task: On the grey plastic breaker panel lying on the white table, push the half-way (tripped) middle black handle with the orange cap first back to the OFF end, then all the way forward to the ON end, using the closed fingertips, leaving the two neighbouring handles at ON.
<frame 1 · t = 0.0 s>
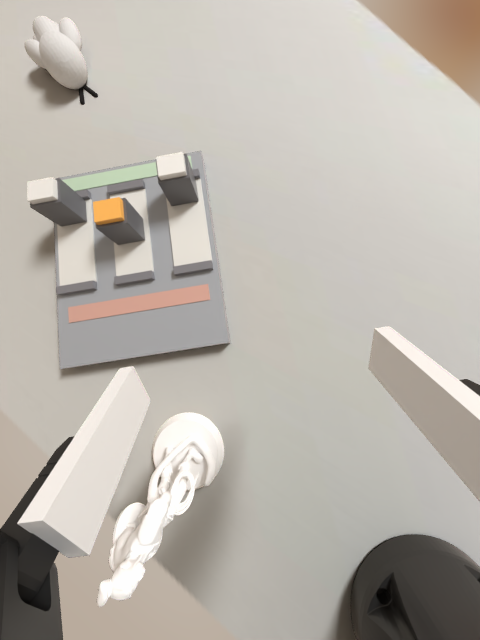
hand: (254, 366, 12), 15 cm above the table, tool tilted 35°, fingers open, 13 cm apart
figurine: (188, 449, 27), on the table
breaker mid: (119, 221, 26), point 4 cm above the table, slide at 4.0 cm
toy: (73, 72, 35), on the table
panel: (140, 260, 30), on the table
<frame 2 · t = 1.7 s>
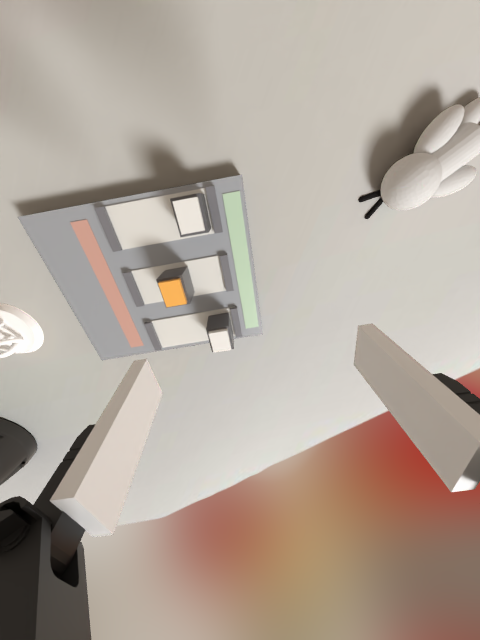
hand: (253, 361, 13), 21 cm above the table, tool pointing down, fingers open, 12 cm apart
figurine: (12, 328, 34), on the table
breaker mid: (176, 287, 27), point 4 cm above the table, slide at 4.0 cm
toy: (416, 168, 27), on the table
panel: (162, 280, 31), on the table
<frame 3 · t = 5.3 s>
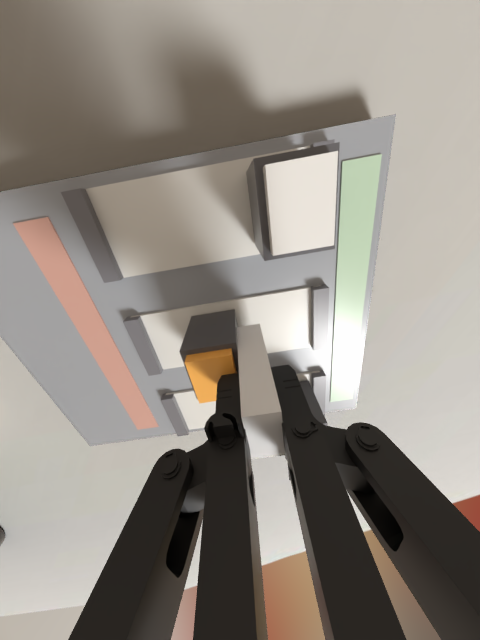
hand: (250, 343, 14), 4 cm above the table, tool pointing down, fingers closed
breaker mid: (216, 354, 14), point 4 cm above the table, slide at 3.1 cm, touching gripper
panel: (193, 325, 18), on the table
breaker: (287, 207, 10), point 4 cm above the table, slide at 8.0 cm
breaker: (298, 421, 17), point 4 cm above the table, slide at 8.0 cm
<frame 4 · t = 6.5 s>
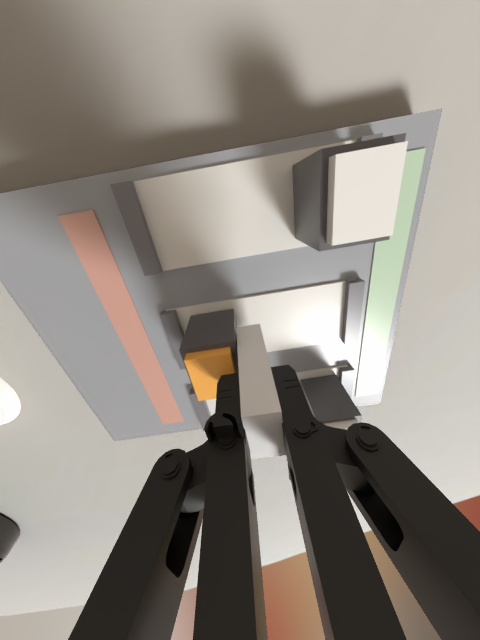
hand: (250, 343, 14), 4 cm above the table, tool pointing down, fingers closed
breaker mid: (215, 353, 14), point 4 cm above the table, slide at 0.6 cm
panel: (223, 319, 18), on the table
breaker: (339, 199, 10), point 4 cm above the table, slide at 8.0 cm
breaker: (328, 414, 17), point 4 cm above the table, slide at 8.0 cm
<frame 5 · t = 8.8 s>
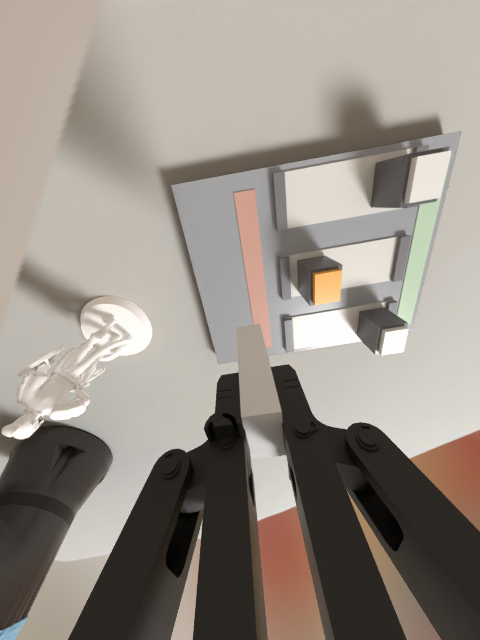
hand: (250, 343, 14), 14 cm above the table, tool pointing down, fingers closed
figurine: (117, 327, 29), on the table
breaker mid: (318, 280, 22), point 4 cm above the table, slide at 0.6 cm
panel: (308, 268, 26), on the table
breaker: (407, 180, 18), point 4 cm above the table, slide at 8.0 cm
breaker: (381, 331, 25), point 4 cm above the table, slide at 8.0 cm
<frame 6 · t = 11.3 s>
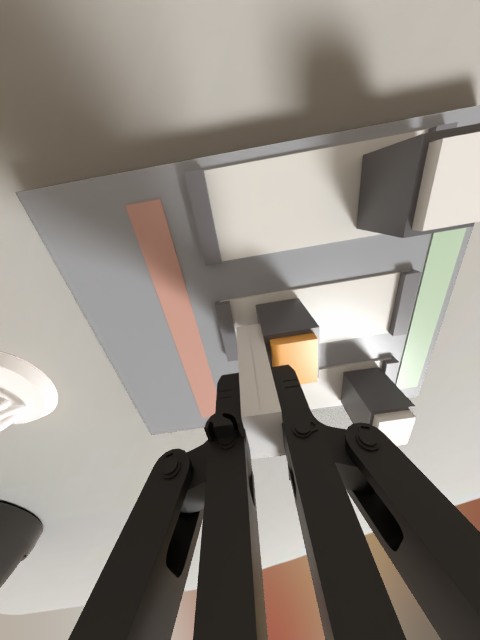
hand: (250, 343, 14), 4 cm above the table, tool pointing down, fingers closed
figurine: (7, 386, 21), on the table
breaker mid: (286, 341, 14), point 4 cm above the table, slide at 1.4 cm, touching gripper
panel: (268, 312, 18), on the table
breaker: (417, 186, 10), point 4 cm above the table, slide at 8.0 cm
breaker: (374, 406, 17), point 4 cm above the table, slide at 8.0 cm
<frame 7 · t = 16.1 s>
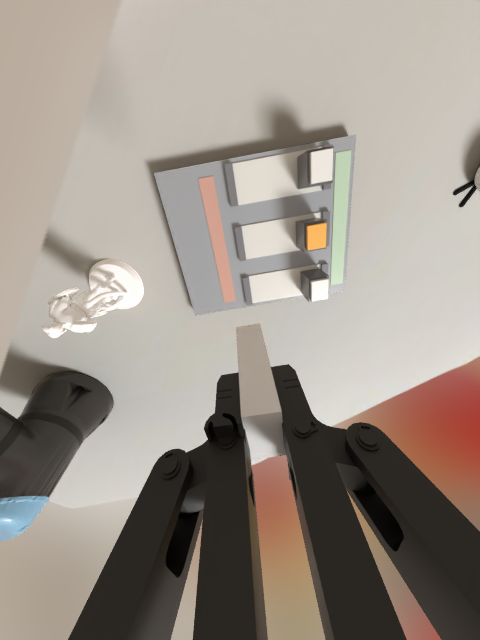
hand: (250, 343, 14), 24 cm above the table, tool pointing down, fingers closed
figurine: (117, 285, 37), on the table
breaker mid: (311, 234, 30), point 4 cm above the table, slide at 7.5 cm
panel: (260, 238, 34), on the table
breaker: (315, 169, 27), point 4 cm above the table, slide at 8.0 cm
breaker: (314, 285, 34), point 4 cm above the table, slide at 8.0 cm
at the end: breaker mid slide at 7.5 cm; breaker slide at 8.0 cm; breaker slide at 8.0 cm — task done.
